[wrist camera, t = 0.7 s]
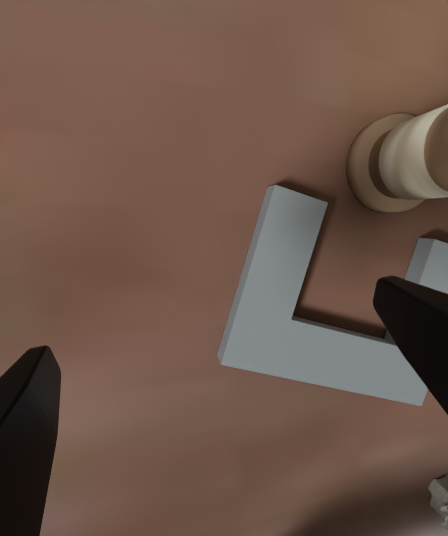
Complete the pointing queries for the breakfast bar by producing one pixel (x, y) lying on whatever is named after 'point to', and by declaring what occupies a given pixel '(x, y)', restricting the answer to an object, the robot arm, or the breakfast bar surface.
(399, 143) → the bobbin
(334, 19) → the breakfast bar surface
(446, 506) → the egg carton
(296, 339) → the notched board
